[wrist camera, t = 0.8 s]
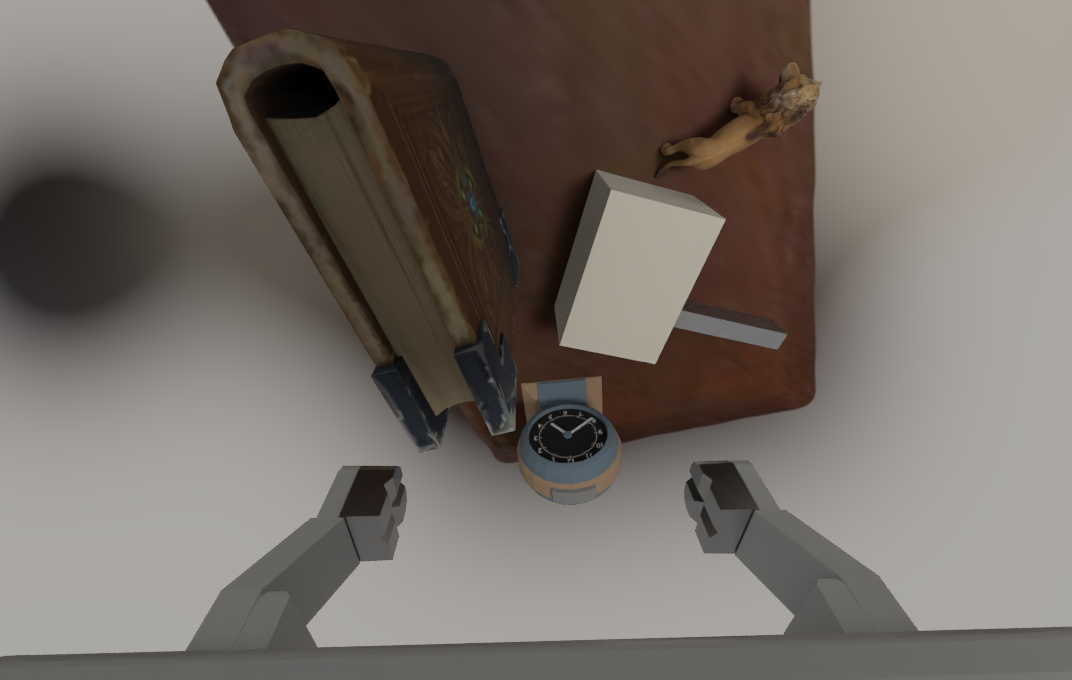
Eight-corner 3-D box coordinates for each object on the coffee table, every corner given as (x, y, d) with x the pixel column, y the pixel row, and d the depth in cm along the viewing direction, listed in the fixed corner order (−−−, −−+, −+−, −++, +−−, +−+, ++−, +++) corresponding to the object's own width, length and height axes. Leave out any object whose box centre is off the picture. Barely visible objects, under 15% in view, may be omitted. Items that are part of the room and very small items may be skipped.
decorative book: (519, 261, 54) (516, 430, 28) (466, 276, 55) (418, 452, 29) (448, 46, 41) (333, 4, 16) (382, 70, 42) (174, 65, 17)
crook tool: (669, 257, 54) (679, 270, 51) (792, 287, 57) (809, 301, 53) (647, 308, 58) (654, 322, 54) (763, 334, 61) (777, 349, 57)
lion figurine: (765, 55, 43) (818, 51, 35) (787, 101, 45) (841, 106, 37) (643, 158, 48) (666, 175, 40) (668, 195, 50) (695, 217, 42)
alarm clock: (608, 375, 64) (634, 467, 49) (608, 422, 69) (632, 518, 54) (514, 384, 64) (511, 478, 49) (521, 430, 69) (521, 528, 55)
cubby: (596, 169, 48) (611, 189, 40) (692, 195, 50) (725, 219, 42) (554, 306, 57) (559, 345, 49) (636, 323, 59) (655, 364, 51)
